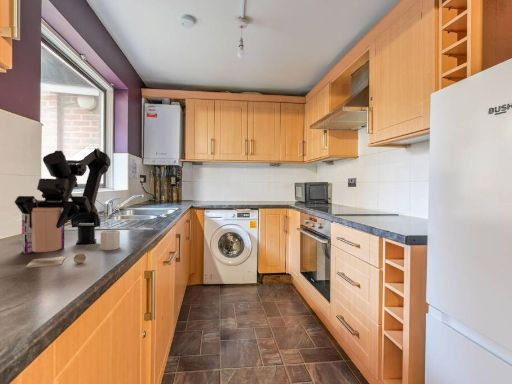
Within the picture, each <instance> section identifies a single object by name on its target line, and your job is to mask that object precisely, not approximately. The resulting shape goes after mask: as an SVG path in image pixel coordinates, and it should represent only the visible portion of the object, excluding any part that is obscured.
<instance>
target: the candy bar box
mask: <svg viewBox="0 0 512 384" xmlns="http://www.w3.org/2000/svg"><path fill="white" fill-rule="evenodd" d="M60 210H61V213H62V211H63V208H60ZM63 249H65V224H64V225H63V226H61V248H60V249H59V250H63ZM21 252H22V253H23V254H24V255H28V254H34V253H35V254H36V253H37V252H34V251H32V229H31V228H30V226H29V214H23V213H22V212H21Z"/></svg>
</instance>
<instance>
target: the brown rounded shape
mask: <svg viewBox="0 0 512 384" xmlns="http://www.w3.org/2000/svg"><path fill="white" fill-rule="evenodd" d="M60 216H61V210H60V207H41V208H33V211H32V251H34V252H36V253H47V252H54V251H58V250H61V249H60V248H61V227H60V228H57V227H56V225H57V222H58V220H59V218H60Z"/></svg>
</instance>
